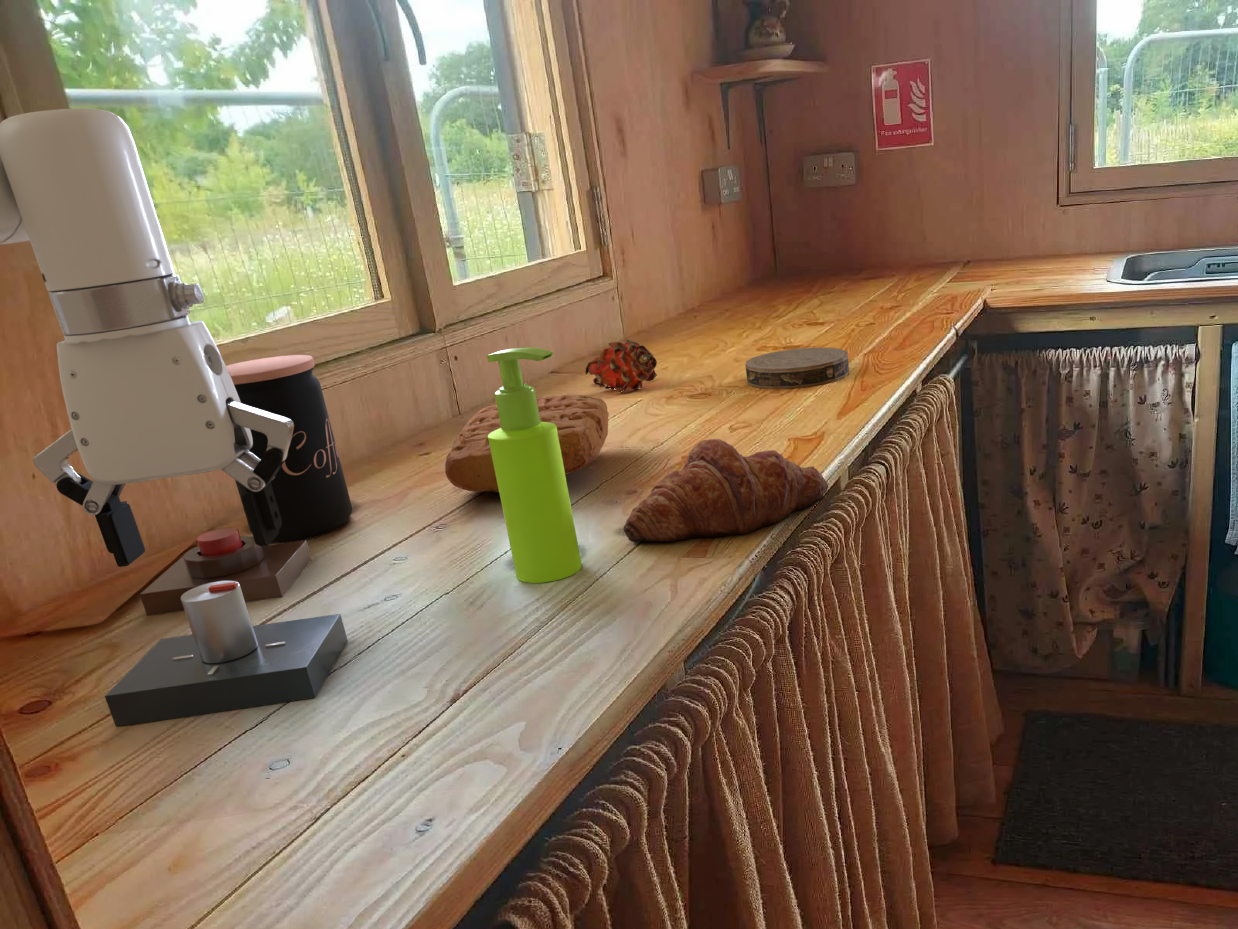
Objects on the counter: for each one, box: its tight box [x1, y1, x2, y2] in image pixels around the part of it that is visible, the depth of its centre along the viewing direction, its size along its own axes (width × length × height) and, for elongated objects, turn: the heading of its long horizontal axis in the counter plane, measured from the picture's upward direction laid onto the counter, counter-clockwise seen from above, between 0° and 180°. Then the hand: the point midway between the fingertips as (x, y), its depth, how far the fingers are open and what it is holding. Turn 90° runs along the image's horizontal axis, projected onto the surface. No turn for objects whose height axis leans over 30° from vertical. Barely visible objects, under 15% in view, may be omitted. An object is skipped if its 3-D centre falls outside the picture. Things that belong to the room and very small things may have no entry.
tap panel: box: [104, 613, 349, 728], centre depth 83 cm, size 14×10×3 cm
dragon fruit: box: [583, 338, 658, 393], centre depth 172 cm, size 8×8×12 cm
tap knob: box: [181, 581, 258, 663], centre depth 81 cm, size 4×4×5 cm
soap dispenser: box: [486, 346, 582, 584], centre depth 95 cm, size 6×7×20 cm
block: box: [139, 535, 312, 617], centre depth 103 cm, size 12×10×4 cm
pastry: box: [623, 438, 829, 544], centre depth 106 cm, size 17×15×8 cm
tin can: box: [744, 347, 850, 390], centre depth 168 cm, size 16×16×3 cm
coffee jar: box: [226, 354, 353, 544], centre depth 116 cm, size 11×11×18 cm
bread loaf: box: [444, 393, 610, 493], centre depth 128 cm, size 22×17×8 cm
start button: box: [196, 527, 243, 556], centre depth 102 cm, size 4×4×2 cm
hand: (200, 550), depth 79 cm, fingers open, 9 cm apart
